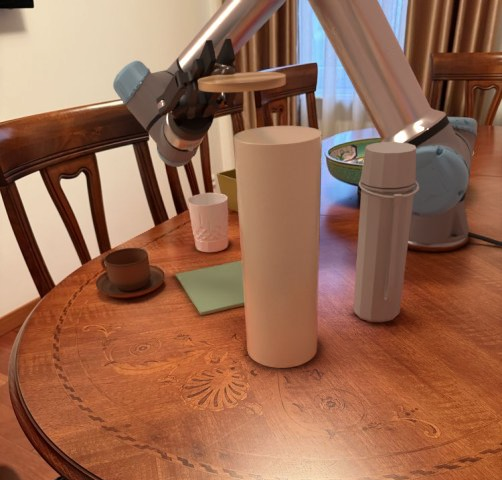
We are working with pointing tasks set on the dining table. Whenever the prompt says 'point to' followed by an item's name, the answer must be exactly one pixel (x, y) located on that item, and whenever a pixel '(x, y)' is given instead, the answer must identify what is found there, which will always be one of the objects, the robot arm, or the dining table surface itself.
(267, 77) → the lid
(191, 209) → the white cup
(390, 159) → the water bottle
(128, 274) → the cup and saucer
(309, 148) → the canister
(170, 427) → the dining table surface
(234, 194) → the flower pot
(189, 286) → the mat
